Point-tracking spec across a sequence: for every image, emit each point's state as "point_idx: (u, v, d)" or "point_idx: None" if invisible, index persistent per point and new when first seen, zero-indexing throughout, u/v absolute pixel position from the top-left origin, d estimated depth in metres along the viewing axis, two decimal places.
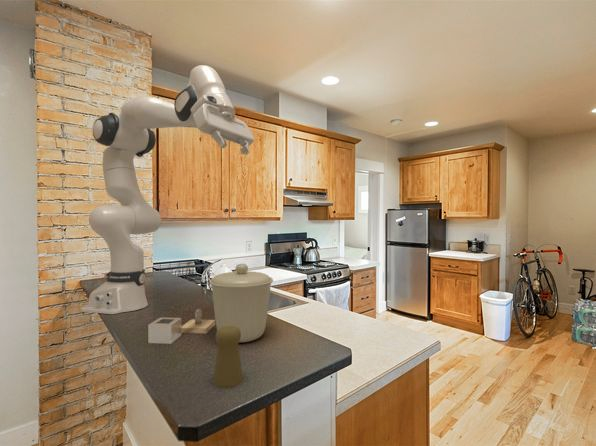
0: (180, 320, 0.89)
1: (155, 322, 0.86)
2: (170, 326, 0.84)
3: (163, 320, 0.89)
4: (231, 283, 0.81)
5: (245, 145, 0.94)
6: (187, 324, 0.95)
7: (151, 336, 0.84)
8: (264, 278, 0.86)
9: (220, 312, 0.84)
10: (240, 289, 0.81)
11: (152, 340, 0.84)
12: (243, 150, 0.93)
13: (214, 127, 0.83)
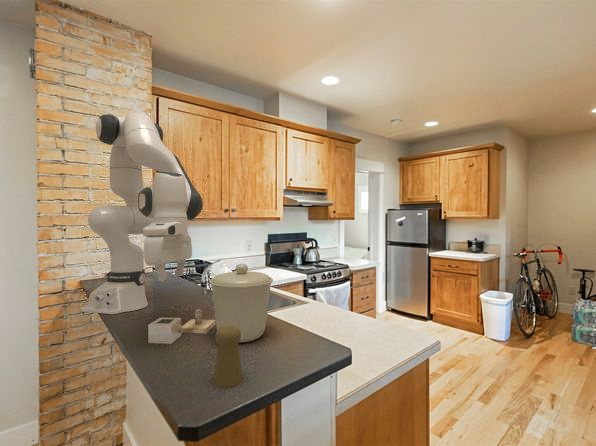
0: (180, 320, 0.89)
1: (155, 322, 0.86)
2: (170, 326, 0.84)
3: (163, 320, 0.89)
4: (231, 283, 0.82)
5: (181, 266, 0.92)
6: (187, 324, 0.95)
7: (151, 336, 0.84)
8: (264, 278, 0.86)
9: (220, 312, 0.84)
10: (240, 289, 0.81)
11: (152, 340, 0.84)
12: (177, 272, 0.91)
13: (162, 264, 0.79)
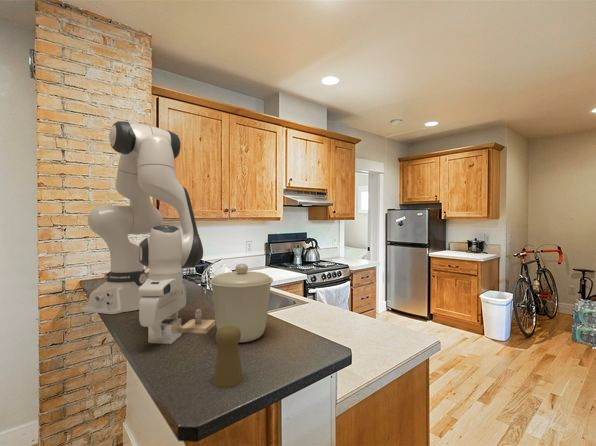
0: (180, 320, 0.89)
1: None
2: (170, 326, 0.84)
3: (163, 320, 0.89)
4: (231, 283, 0.82)
5: (174, 317, 0.92)
6: (187, 324, 0.95)
7: (151, 336, 0.84)
8: (264, 278, 0.86)
9: (220, 312, 0.84)
10: (240, 289, 0.81)
11: (152, 340, 0.84)
12: None
13: None
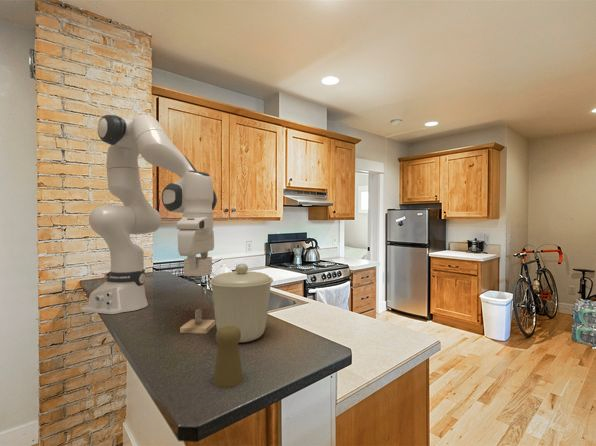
0: (211, 258, 0.98)
1: None
2: (203, 260, 0.92)
3: (195, 258, 0.98)
4: (231, 283, 0.81)
5: None
6: (187, 324, 0.95)
7: (186, 270, 0.93)
8: (264, 278, 0.86)
9: (220, 312, 0.84)
10: (240, 289, 0.81)
11: (187, 273, 0.93)
12: None
13: (193, 255, 0.88)
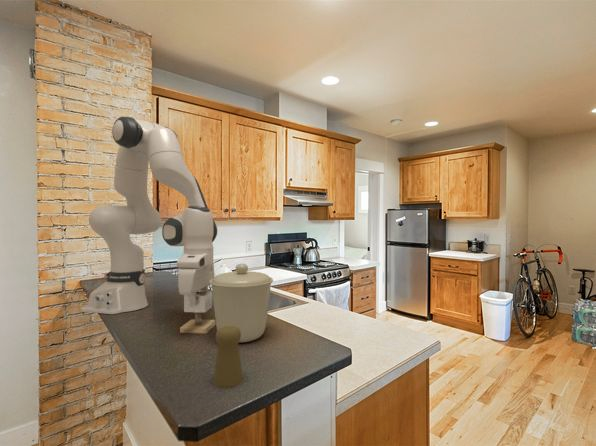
0: (211, 293, 0.98)
1: None
2: (204, 296, 0.92)
3: (196, 293, 0.98)
4: (231, 283, 0.82)
5: (205, 290, 1.00)
6: (187, 324, 0.95)
7: (186, 306, 0.93)
8: (264, 278, 0.86)
9: (220, 312, 0.84)
10: (240, 289, 0.81)
11: (187, 309, 0.93)
12: None
13: (193, 293, 0.89)
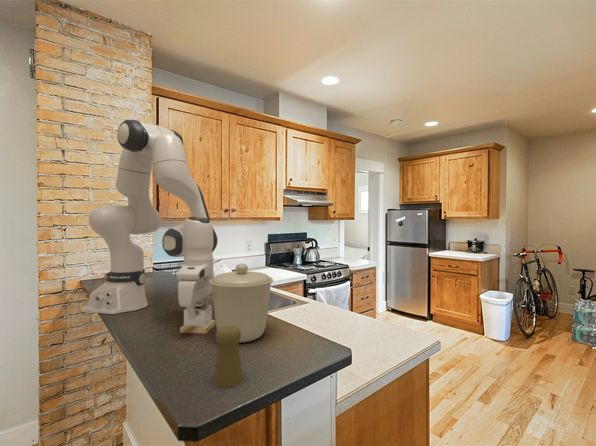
0: (211, 307, 0.98)
1: None
2: (203, 311, 0.93)
3: (195, 307, 0.98)
4: (231, 283, 0.82)
5: (205, 300, 1.01)
6: None
7: (186, 321, 0.93)
8: (264, 278, 0.86)
9: (220, 312, 0.84)
10: (240, 289, 0.81)
11: (187, 324, 0.93)
12: None
13: None
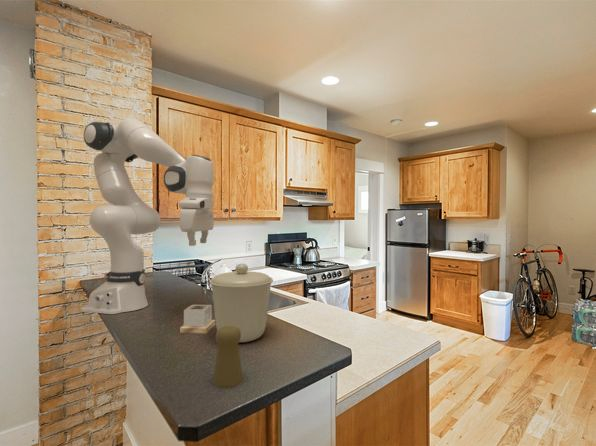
0: (211, 307, 0.98)
1: (189, 308, 0.95)
2: (203, 311, 0.93)
3: (195, 307, 0.98)
4: (231, 283, 0.82)
5: (205, 235, 1.10)
6: None
7: (186, 321, 0.93)
8: (264, 278, 0.86)
9: (220, 312, 0.84)
10: (240, 289, 0.81)
11: (187, 324, 0.93)
12: (202, 240, 1.09)
13: (193, 231, 0.97)
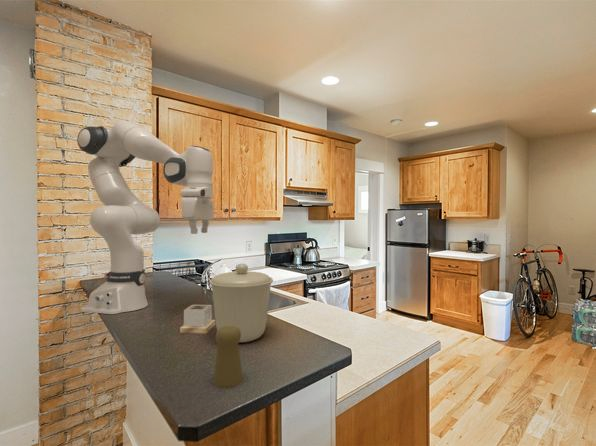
0: (211, 307, 0.98)
1: (189, 308, 0.95)
2: (203, 311, 0.93)
3: (195, 307, 0.98)
4: (231, 283, 0.82)
5: (206, 225, 1.12)
6: None
7: (186, 321, 0.93)
8: (264, 278, 0.86)
9: (220, 312, 0.84)
10: (240, 289, 0.81)
11: (187, 324, 0.93)
12: (203, 230, 1.11)
13: (195, 219, 1.00)
